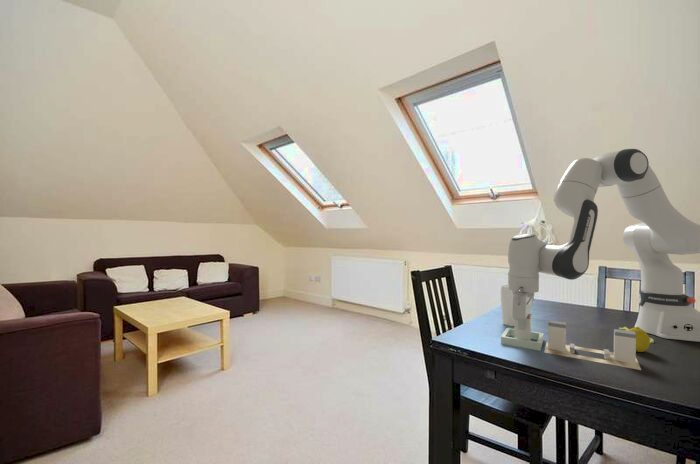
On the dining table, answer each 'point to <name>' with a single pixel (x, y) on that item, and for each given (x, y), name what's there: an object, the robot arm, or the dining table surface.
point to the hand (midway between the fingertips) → (522, 327)
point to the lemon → (641, 339)
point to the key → (628, 329)
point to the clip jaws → (606, 351)
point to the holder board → (611, 361)
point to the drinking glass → (507, 305)
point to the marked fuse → (523, 333)
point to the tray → (522, 340)
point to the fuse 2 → (624, 346)
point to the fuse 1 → (557, 335)
